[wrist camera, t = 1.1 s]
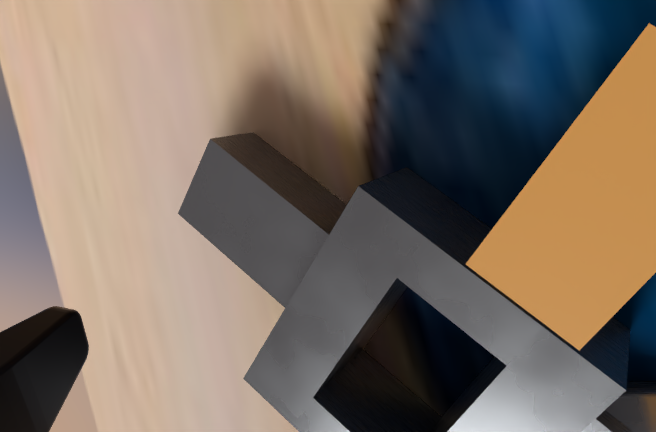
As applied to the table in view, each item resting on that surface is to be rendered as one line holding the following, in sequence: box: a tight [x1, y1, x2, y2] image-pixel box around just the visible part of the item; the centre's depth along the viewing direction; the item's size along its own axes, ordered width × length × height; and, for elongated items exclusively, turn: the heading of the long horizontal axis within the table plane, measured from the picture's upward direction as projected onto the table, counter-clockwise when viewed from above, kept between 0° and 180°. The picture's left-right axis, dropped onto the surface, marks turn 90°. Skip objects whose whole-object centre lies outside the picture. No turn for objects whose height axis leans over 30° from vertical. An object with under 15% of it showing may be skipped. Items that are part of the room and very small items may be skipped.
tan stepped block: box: [466, 24, 656, 350], centre depth 15 cm, size 3×6×9 cm, turn 150°
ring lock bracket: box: [178, 133, 656, 432], centre depth 21 cm, size 28×11×6 cm, turn 60°
